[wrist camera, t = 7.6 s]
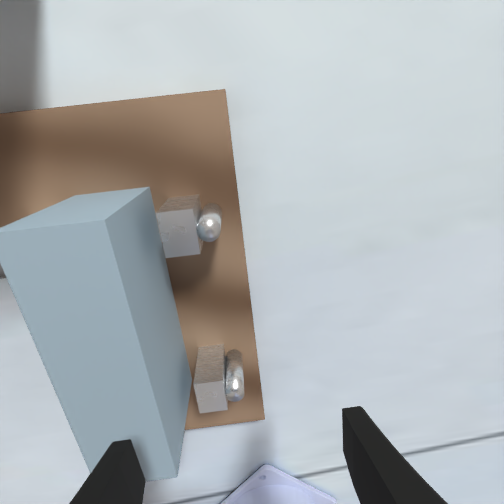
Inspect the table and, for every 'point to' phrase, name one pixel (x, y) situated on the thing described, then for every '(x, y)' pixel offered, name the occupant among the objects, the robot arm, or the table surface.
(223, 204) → the cabinet panel
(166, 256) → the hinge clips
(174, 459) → the pale blue square pillar
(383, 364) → the table surface
